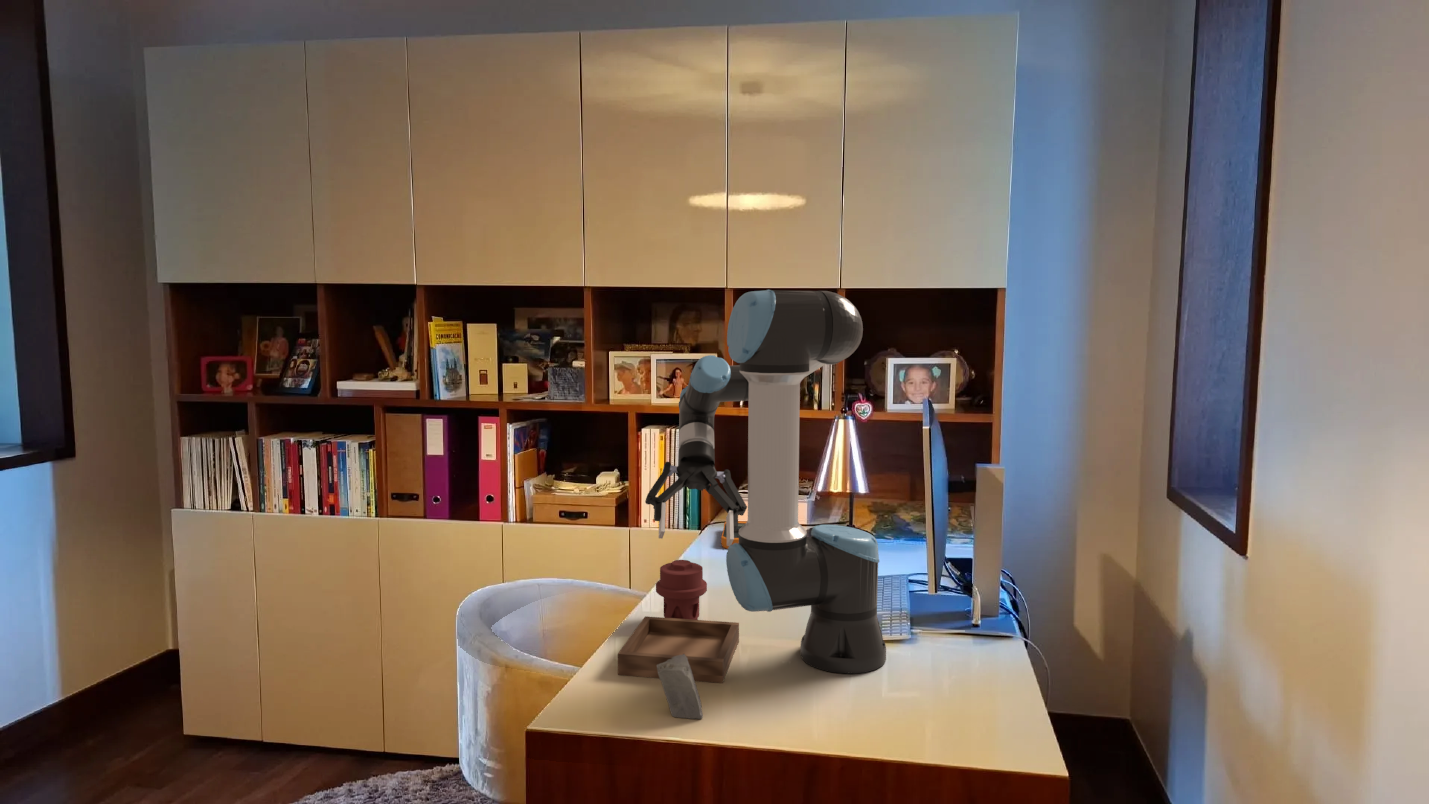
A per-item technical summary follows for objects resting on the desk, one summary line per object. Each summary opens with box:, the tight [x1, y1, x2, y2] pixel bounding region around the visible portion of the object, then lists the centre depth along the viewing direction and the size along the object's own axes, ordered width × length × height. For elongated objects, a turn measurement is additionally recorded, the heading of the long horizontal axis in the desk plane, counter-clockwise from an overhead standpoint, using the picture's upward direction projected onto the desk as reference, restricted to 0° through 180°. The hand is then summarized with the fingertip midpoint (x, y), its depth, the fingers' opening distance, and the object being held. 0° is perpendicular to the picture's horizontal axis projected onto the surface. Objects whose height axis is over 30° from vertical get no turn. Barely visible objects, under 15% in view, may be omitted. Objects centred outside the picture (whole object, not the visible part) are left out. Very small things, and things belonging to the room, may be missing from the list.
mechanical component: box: [655, 559, 708, 620], centre depth 171 cm, size 12×10×10 cm
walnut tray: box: [617, 616, 740, 684], centre depth 155 cm, size 18×18×4 cm
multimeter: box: [720, 520, 748, 550], centre depth 232 cm, size 9×18×3 cm, turn 176°
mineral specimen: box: [657, 654, 704, 720], centre depth 135 cm, size 7×9×8 cm
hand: (696, 539), depth 169 cm, fingers open, 13 cm apart
